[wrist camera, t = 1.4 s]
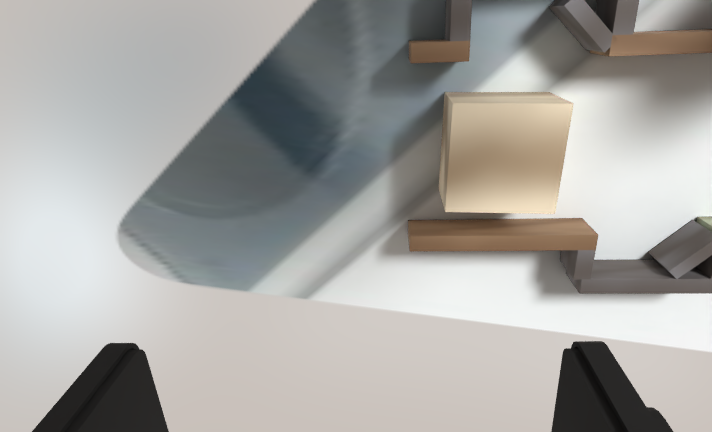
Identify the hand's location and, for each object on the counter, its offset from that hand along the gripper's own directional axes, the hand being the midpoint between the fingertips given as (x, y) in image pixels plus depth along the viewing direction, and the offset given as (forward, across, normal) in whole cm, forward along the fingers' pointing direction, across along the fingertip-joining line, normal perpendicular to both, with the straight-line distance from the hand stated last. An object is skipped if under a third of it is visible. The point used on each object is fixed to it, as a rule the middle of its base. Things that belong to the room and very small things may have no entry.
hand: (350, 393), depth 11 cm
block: (+20, -7, 0) cm, 22 cm away
